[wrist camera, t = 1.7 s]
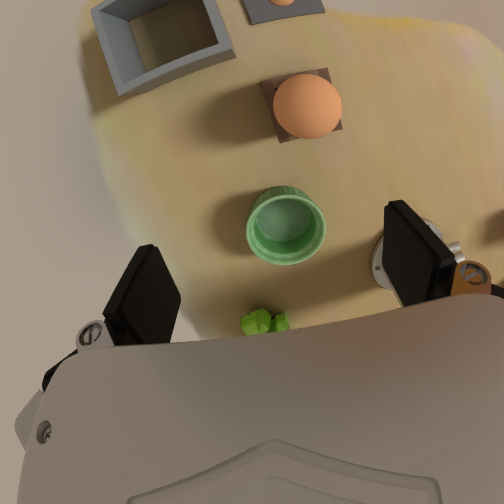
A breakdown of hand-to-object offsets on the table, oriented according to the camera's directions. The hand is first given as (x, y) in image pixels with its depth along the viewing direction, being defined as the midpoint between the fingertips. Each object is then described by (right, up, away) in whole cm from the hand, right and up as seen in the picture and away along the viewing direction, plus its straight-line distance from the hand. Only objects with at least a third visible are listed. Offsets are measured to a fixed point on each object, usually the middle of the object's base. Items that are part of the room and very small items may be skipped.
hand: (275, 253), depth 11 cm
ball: (+4, +13, +10) cm, 17 cm away
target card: (+2, +27, +8) cm, 28 cm away
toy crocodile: (+3, -14, +36) cm, 39 cm away
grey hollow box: (-9, +23, +11) cm, 27 cm away
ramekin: (+3, +5, +23) cm, 24 cm away
